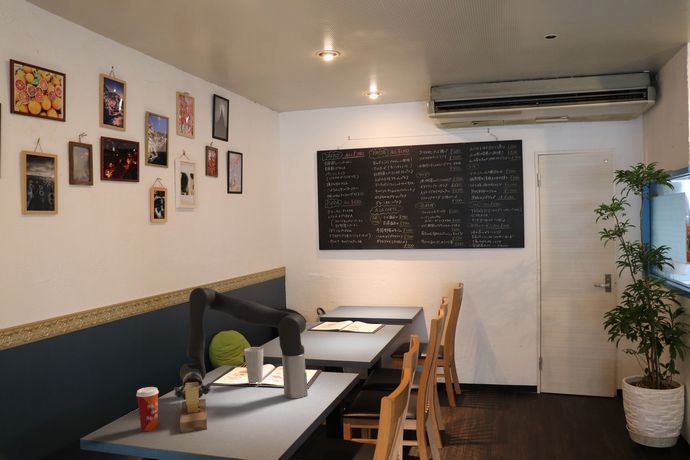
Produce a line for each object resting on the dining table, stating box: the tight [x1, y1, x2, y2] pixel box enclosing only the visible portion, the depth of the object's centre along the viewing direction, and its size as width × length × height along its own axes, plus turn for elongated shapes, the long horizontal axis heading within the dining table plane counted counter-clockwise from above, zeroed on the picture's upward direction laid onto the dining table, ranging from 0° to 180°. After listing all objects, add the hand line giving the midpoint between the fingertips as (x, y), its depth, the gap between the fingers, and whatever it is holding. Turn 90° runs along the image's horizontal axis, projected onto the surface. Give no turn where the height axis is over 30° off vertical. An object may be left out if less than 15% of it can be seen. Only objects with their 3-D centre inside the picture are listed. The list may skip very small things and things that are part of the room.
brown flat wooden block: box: [179, 398, 208, 433], centre depth 212 cm, size 9×24×4 cm, turn 15°
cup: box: [243, 346, 264, 384], centre depth 254 cm, size 8×8×16 cm
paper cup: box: [135, 386, 160, 432], centre depth 205 cm, size 8×8×14 cm
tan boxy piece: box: [185, 382, 200, 414], centre depth 212 cm, size 5×7×11 cm, turn 14°
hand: (192, 396), depth 209 cm, fingers closed on tan boxy piece, 4 cm apart
